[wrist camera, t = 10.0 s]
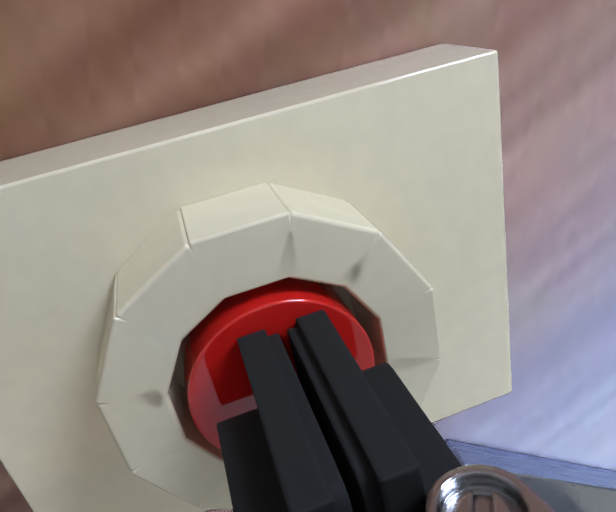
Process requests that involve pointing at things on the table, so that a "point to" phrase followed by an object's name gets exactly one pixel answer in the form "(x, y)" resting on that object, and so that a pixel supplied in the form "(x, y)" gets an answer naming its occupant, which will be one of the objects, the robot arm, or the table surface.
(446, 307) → the button block
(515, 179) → the table surface
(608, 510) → the lever bracket
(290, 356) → the button
